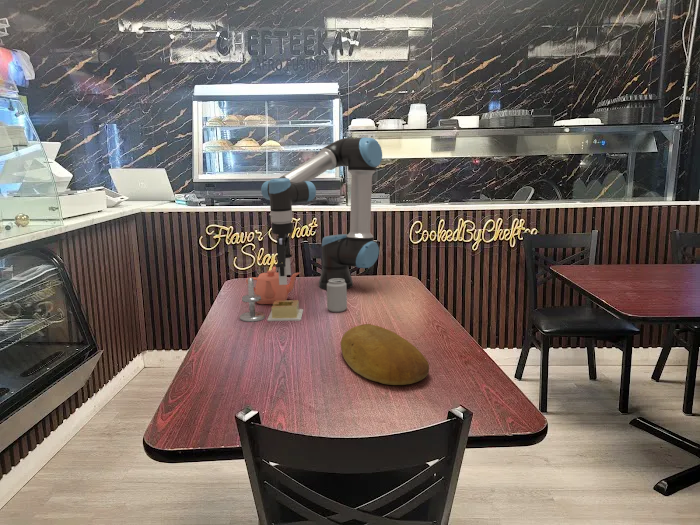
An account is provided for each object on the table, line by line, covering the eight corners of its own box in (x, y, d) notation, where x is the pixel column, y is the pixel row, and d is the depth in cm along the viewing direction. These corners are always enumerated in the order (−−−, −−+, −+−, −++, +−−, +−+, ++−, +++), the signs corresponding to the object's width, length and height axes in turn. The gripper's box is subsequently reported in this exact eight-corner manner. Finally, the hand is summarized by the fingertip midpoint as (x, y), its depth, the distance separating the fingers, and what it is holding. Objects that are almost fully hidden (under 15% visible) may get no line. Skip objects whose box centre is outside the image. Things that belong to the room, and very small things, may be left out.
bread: (374, 340, 170) (374, 310, 168) (443, 381, 140) (444, 345, 138) (323, 351, 161) (322, 320, 159) (384, 397, 131) (384, 359, 129)
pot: (303, 300, 216) (302, 270, 213) (268, 309, 204) (267, 278, 201) (275, 292, 228) (274, 264, 226) (241, 300, 217) (240, 270, 214)
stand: (266, 313, 198) (264, 275, 195) (263, 321, 189) (261, 281, 186) (242, 314, 198) (240, 275, 195) (238, 322, 189) (235, 281, 186)
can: (344, 313, 197) (344, 282, 195) (325, 312, 199) (324, 281, 196) (348, 307, 205) (348, 277, 202) (329, 306, 206) (329, 277, 203)
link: (298, 310, 200) (298, 300, 199) (296, 317, 191) (296, 307, 190) (275, 310, 200) (274, 300, 199) (272, 318, 191) (271, 307, 190)
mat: (303, 310, 202) (303, 309, 201) (300, 320, 190) (300, 319, 190) (271, 311, 201) (271, 309, 201) (267, 321, 190) (267, 319, 190)
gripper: (275, 217, 200) (279, 271, 205) (266, 228, 176) (270, 289, 181) (295, 216, 200) (298, 270, 205) (288, 227, 176) (292, 288, 181)
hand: (285, 279), depth 193 cm, fingers open, 13 cm apart
